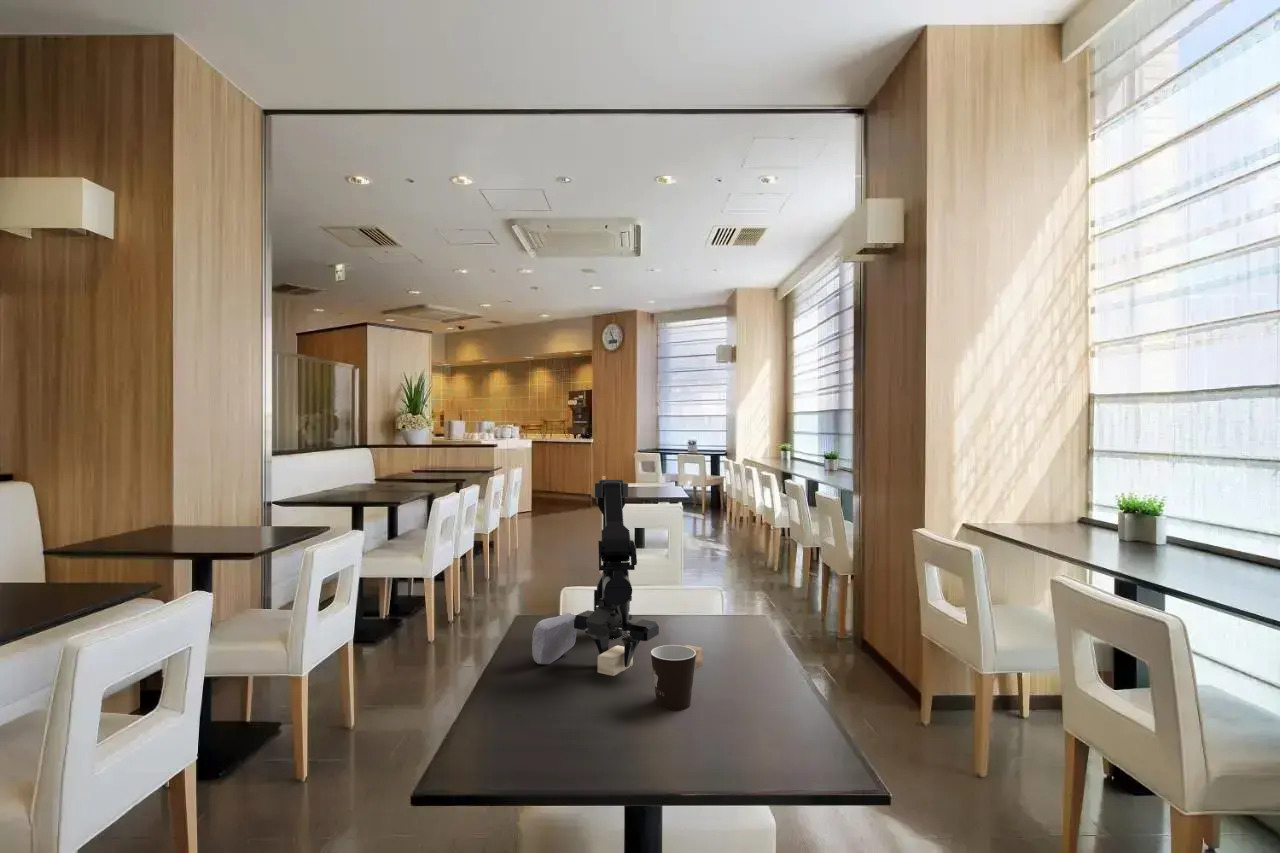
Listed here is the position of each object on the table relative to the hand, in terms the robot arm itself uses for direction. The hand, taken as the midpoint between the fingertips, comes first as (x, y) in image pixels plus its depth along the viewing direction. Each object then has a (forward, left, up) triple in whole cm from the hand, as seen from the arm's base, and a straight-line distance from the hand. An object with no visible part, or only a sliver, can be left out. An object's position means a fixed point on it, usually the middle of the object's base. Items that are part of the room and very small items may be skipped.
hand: (615, 664), depth 150 cm
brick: (-8, +13, -1) cm, 15 cm away
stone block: (+3, -14, -1) cm, 14 cm away
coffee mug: (+9, +19, -1) cm, 21 cm away
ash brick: (0, 0, -1) cm, 1 cm away
